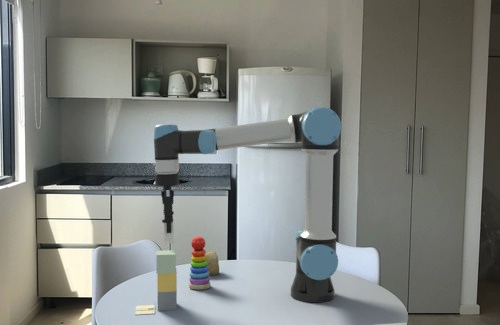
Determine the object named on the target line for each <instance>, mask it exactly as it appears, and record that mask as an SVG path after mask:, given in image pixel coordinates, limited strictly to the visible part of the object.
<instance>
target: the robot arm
mask: <svg viewBox="0 0 500 325" xmlns="http://www.w3.org/2000/svg"><path fill="white" fill-rule="evenodd" d="M341 131H342V123H341V119H340V116H338V114H337V113H336V111H334V110H332V109H331V108H330V107H325V106H315V107H313V108H311V109H310V110H307V111H304V112H301V113H297V114H291V115H290V116H289V117H287V118H283V119H276V120H268V121H267V120H266V121H260V122H253V123H246V124H238V125H231V126H224V127H217V128H210V129H201V130H200V129H194V130H193V129H191V130H179V127H178V125H177V124H157V125H155V126H154V134H153V136H154V137H153V144H154V145H153V146H154V147H153V148H154V149H153V150H154V162H153V163H152V166H155V167H154V171H155V173H156V174H155V175H154V180H155V185H156V186H158V187H162V189H163V190H161V191H160V192H161V196H160V197H161V198H162V199H161V200H162V205H163V210H162V211H163V219H161V222H162V224H163V235H164V244H174V242H175V241H174V239H175V238H174V216H173V215H175V214H174V211H173V205H174V196H175V191H174V190H173V189H172V186H174V187H175V186H178V185H179V184H180V175H179V173H178V172H179V171H180V166H179V165H180V162H179V155H208V154H214V153H215V152H216V151H220V150H221V151H222V150H228V149H236V148H237V149H238V148H243V147H245V148H246V147H251V146H260V145H267V144H275V143H283V142H292V143H294V144H297V143H301V151H302V152H303V154H305V190H304V193H305V195H304V196H305V199H304V200H305V201H304V229H300V230H298V231H297V232H296V237H295V240H296V241H295V242H296V244H295V245H296V249H295V250H296V252H295V253H296V255H295V257H296V258H295V259H296V260H295V261H296V262H295V275H294V279H293V281H292V285H291V287H290V296H291V297H292V298H293V299H295V300H298V301H301V302H305V303H306V302H307V303H323V302H324V303H325V302H329V301H332V300H333V299H335V287H334V285H333V281H332V278H331V277H332V276H333V275H334V274H335V272H336V271H337V269H338V266H339V258H338V254H337V234H336V233H334V231H333V230H332V229H333V228H332V227H333V190H334V189H333V184H334V180H333V179H334V178H333V176H334V155H335V154H336V153H338V151H339V138H340V134H341Z"/></svg>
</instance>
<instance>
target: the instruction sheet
mask: <svg viewBox="0 0 500 325" xmlns="http://www.w3.org/2000/svg"><path fill="white" fill-rule="evenodd" d="M155 313H156V305H155V304H151V305H147V304H146V305H136V306H135V312H134V315H135V316H137V315H138V316H139V315H140V316H142V315H144V316H145V315H155Z"/></svg>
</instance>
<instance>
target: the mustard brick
mask: <svg viewBox="0 0 500 325" xmlns="http://www.w3.org/2000/svg"><path fill="white" fill-rule="evenodd" d="M177 272H178V271H176V273H165V274H157V273H156V275H157V276H156V277H157V280H156V281H157V293H158V292H173V291H177V290H178V289H177V286H178V285H177V283H178V282H177V281H178V280H177V278H178V277H177Z"/></svg>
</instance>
